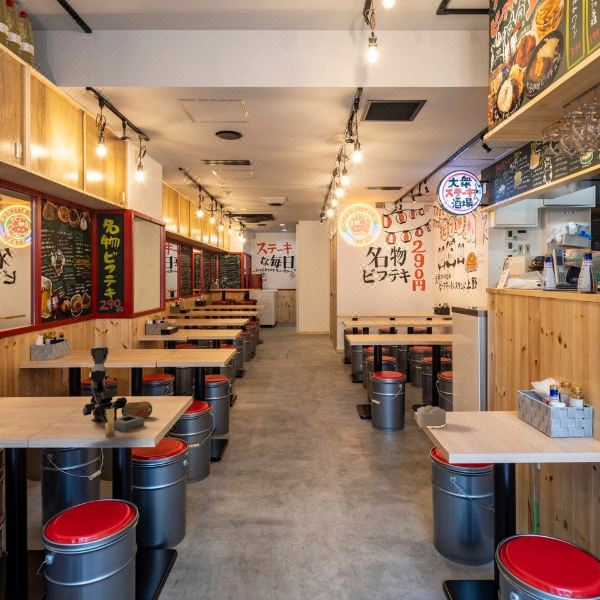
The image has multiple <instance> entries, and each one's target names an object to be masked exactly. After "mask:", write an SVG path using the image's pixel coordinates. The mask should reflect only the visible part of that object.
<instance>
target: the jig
mask: <svg viewBox="0 0 600 600" xmlns="http://www.w3.org/2000/svg"><path fill="white" fill-rule="evenodd" d="M141 426H143V427H145V418H143V417H139V416H135V415H131V414H130V415H126V416H123V415H122V416H120V417H117V420H116V421H115V431H116V430H117V431H120V432H123V433H126V432H130V431H133V430H136V429H139V428H138V427H140V428H142V427H141Z"/></svg>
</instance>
